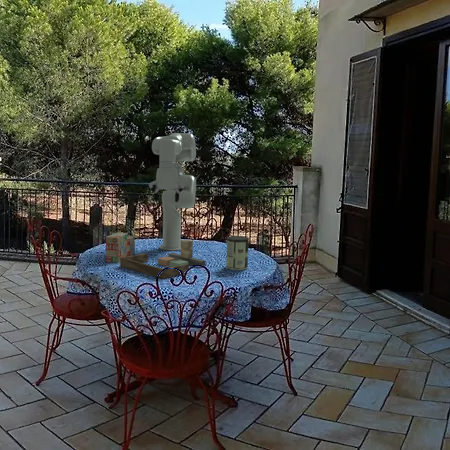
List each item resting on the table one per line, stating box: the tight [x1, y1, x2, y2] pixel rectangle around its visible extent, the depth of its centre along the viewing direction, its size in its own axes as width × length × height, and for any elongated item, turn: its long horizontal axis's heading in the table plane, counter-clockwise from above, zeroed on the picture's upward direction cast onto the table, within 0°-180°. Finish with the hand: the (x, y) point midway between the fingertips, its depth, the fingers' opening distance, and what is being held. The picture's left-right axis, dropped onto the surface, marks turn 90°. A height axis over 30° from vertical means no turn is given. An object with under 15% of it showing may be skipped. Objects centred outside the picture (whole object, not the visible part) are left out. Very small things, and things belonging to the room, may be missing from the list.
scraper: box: [167, 239, 207, 267], centre depth 238 cm, size 4×22×11 cm, turn 50°
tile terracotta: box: [157, 256, 176, 267], centre depth 235 cm, size 6×6×3 cm
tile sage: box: [169, 259, 188, 267], centre depth 230 cm, size 6×6×3 cm
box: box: [119, 252, 190, 280], centre depth 223 cm, size 15×28×4 cm, turn 50°
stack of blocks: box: [105, 232, 136, 264], centre depth 243 cm, size 21×6×12 cm, turn 169°
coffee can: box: [225, 235, 250, 271], centre depth 232 cm, size 10×10×14 cm
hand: (166, 201), depth 239 cm, fingers open, 9 cm apart
